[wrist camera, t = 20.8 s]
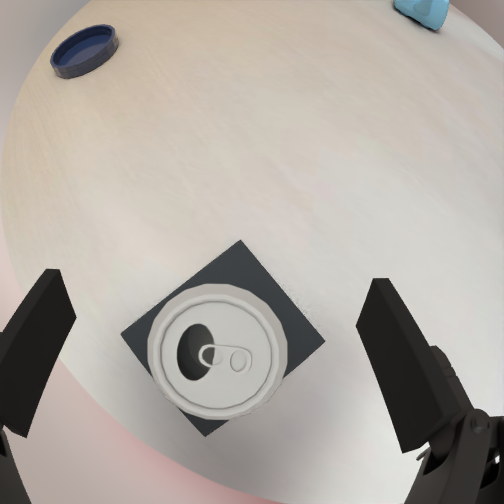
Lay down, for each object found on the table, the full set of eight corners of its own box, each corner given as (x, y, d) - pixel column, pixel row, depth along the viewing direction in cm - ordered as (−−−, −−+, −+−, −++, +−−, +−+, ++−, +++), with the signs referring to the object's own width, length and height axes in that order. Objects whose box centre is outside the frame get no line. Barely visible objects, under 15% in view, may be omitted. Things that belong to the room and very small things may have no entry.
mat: (205, 434, 23) (204, 437, 23) (122, 333, 25) (120, 333, 24) (323, 340, 26) (325, 341, 25) (240, 241, 28) (240, 239, 27)
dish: (64, 88, 31) (58, 78, 29) (49, 62, 33) (44, 52, 30) (128, 49, 33) (125, 37, 31) (105, 28, 35) (101, 18, 32)
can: (186, 291, 26) (152, 265, 14) (271, 306, 26) (305, 291, 14) (172, 374, 24) (129, 412, 12) (257, 389, 24) (280, 438, 12)
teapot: (387, 15, 42) (405, -23, 30) (394, -5, 46) (408, -35, 35) (438, 45, 41) (460, 10, 30) (436, 19, 45) (453, -9, 34)
